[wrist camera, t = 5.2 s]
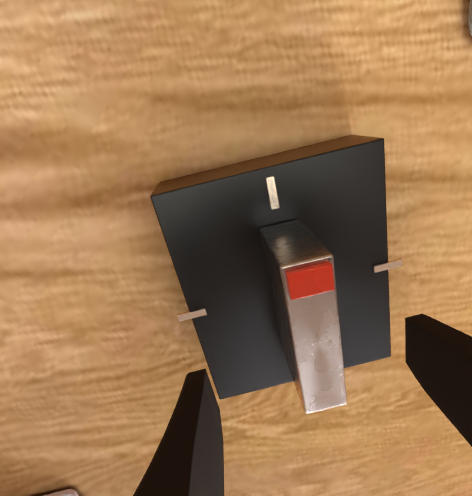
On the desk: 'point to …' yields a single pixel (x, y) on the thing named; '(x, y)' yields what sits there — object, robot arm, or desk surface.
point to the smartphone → (470, 17)
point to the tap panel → (253, 259)
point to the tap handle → (306, 312)
